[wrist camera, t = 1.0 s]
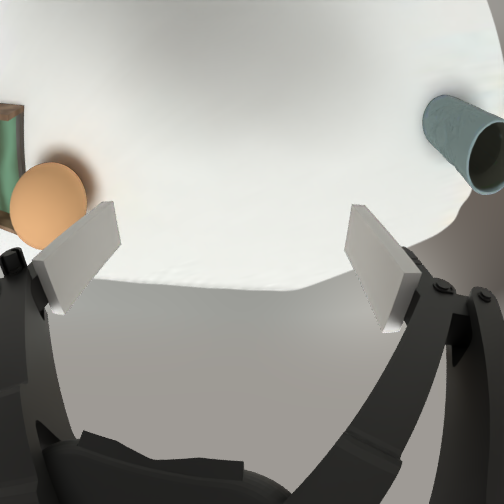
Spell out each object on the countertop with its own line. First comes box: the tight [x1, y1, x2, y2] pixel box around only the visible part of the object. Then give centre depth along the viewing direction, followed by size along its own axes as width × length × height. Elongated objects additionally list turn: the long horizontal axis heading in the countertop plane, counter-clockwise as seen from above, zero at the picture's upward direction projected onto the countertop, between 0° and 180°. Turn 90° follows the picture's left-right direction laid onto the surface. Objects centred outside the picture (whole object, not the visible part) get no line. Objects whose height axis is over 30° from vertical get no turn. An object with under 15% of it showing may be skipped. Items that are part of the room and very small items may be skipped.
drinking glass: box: [423, 95, 504, 195], centre depth 25 cm, size 10×10×12 cm
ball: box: [10, 162, 87, 250], centre depth 33 cm, size 13×13×13 cm
